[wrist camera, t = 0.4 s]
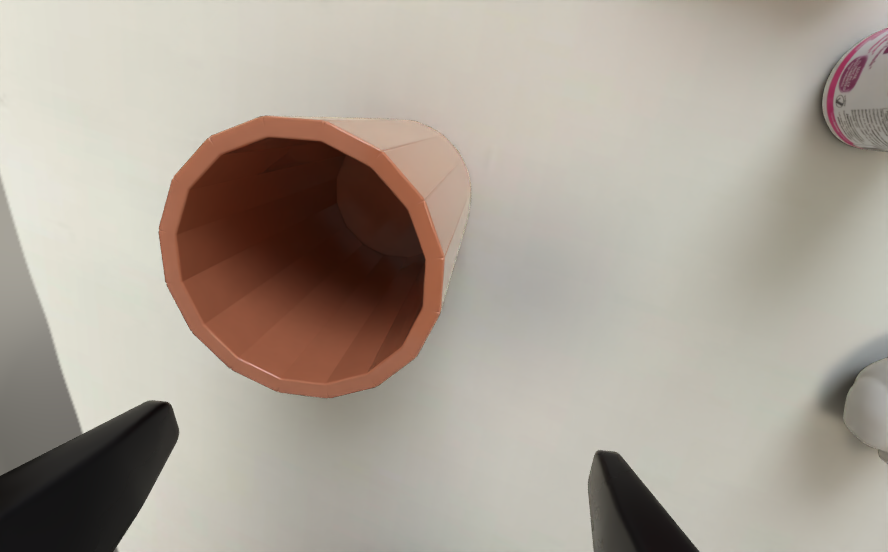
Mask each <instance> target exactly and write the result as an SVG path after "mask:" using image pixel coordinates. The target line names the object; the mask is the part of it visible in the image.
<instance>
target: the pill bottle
mask: <svg viewBox="0 0 888 552" xmlns="http://www.w3.org/2000/svg"><path fill="white" fill-rule="evenodd" d="M822 108H823V114H824V117H825V120H826V123H827V125H828V127H829V128H830V130H831V131H832V133H833V134H834V135H835V136H836V137H837V138H838V139H839V140H841V141H842V142H844V143H846V144H848V145H850V146H853V147H856V148H860V149H866V150H874V151H888V28H886V29H883V30H880V31H878V32H876V33H874V34H871V35H870V36H868V37H866V38H864V39H863V40H861V41H860V42H858V43H857V44H856V45H855V46H853V47H852V48H851V49H850V50H849V51H848V52H847V53H846V54H845V55H844V56H843V57H842V58H841V59H840V60H839V61H838V63H837V64H836V66H835V67H834V68H833V70H832V72H831V74H830V76H829V78H828V80H827V83H826V85H825V89H824V93H823V99H822Z"/></svg>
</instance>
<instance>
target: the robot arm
mask: <svg viewBox="0 0 888 552" xmlns="http://www.w3.org/2000/svg"><path fill="white" fill-rule="evenodd" d="M178 436H179V428H178V424H177V421H176V418H175V415H174V411H173V408H172V406H171V404H169V403H168V402H163V401H154V400H151V401H147V402H145V403H143V404H141V405H139V406H137V407H135V408H133V409H131V410H129V411H127V412H125V413H123V414H121V415H119V416H117V417H115V418H113V419H111V420H109V421H107V422H105V423H103V424H101V425H99V426H98V427H96V428H94V429H92V430H90V431H88V432H86V433H84V434H82V435H80V436H78V437H76V438H74V439H72V440H70V441H68V442H66V443H64V444H62V445H60V446H58V447H56V448H54V449H52V450H50V451H48V452H47V453H44V454H42V455H41V456H39V457H37V458H35V459H33V460H31V461H29V462H27V463H25V464H23V465H21V466H19V467H17V468H15V469H13V470H11V471H9V472H7V473H5V474H3V475H1V476H0V552H113V551H114V550H115V548H116V547H117V545H118V544H119V542H120V540H121V539H122V537H123V536H124V534H125V533H126V531H127V530H128V528H129V527H130V525H131V524H132V522H133V521H134V519H135V517H136V516H137V514H138V512H139V511H140V509H141V508H142V506H143V504H144V502H145V500H146V499H147V497H148V495H149V493H150V491H151V489H152V487H153V486H154V484H155V482H156V480H157V478H158V476H159V474H160V472H161V471H162V469H163V467H164V465H165V463H166V461H167V459H168V457H169V455H170V454H171V452H172V450H173V448H174V446H175V444H176V442H177V440H178ZM588 494H589V505H590V516H591V527H592V538H593V548H594V552H699V551H698V549H697V548H696V547H695V546H694V544H693V543H692V542H691V541H690V540H689V538H688V537H687V536H686V535H685V533H684V532H683V531H682V530H681V529H680V527H679V526H678V525H677V524H676V522H675V521H674V520H673V519H672V518H671V516H670V515H669V514H668V513H667V511H666V510H665V509H664V508H663V507H662V505H661V504H660V503H659V502H658V500H657V499H656V498H655V497H654V496H653V494H652V493H651V492H650V491H649V489H648V488H647V487H646V486H645V485H644V483H643V482H642V481H641V480H640V478H639V477H638V476H637V475H636V474H635V472H634V471H633V470H632V469H631V467H630V466H629V465H628V464H627V463H626V461H625V460H624V459H623V458H622V457H621V455H620V454H618V453H617V452H612V451H603V450H598V451H596V453H595V455H594V459H593V463H592V467H591V471H590V474H589V479H588Z"/></svg>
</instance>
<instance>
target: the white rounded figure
mask: <svg viewBox="0 0 888 552" xmlns="http://www.w3.org/2000/svg"><path fill="white" fill-rule="evenodd" d="M843 419H844V423H845V425H846V426H847V428H848V429H849V430H850V431H851V432H852V433H853V434H854V435H855V436H856V437H857V438H858V439H859V440H860V441H862V442H863V443H865V444H866V445H868V446H870V447H872V448H875V449H878V453H879V456H880V458H881V459H882V460H883V461H884V462H886V463H887V464H888V357H887V358H884V359H882V360H879V361H877V362H875V363H872V364H870V365H869V366H867V367H866V368H864V369H863V370H862V371H861V372H860V373H859V374H858V376H857V377H856V380H855V382H854V385H853V386H852V387H851V388H850V390H849V392H848V394H847V398H846V403H845V408H844V414H843Z"/></svg>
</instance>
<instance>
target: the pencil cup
mask: <svg viewBox="0 0 888 552" xmlns="http://www.w3.org/2000/svg"><path fill="white" fill-rule="evenodd" d="M470 203H471V183H470V178H469V174H468V170H467V168H466V165H465V163H464V161H463V159H462V157H461V155H460V153H459V152H458V151H457V149H456V148H455V147H454V145H453V144H452V143H451V142H450V141H449V140H448V139H447V138H446V137H444V136H443V135H442V134H441V133H439V132H438V131H436V130H434V129H433V128H431V127H429V126H427V125H424V124H422V123H419V122H417V121H412V120H398V119H380V118H341V117H302V116H260V117H257V118H255V119H252V120H250V121H247V122H245V123H242V124H239V125H237V126H234V127H232V128H229V129H227V130H224V131H222V132H219V133H216V134H214V135H211V136H210V138H207V139H206V141H205V142H204V143H203V144H202V145H201V146H200V147H199V148H198V150H197V151H196V152H195V153H194V154H193V155H192V156H191V158H190V159H189V160H188V161H187V162H186V163H185V164H184V165H183V167H182V168H181V169H180V170H179V171H178V172H177V173H176V175H175V176H174V178H173V179H172V181H171V185H170V189H169V192H168V196H167V200H166V203H165V207H164V211H163V214H162V218H161V222H160V225H159V238H160V246H161V253H162V260H163V267H164V275H165V282H166V283H167V287H168V289H169V291H170V293H171V294H172V296H173V298H174V300H175V302H176V304H177V306H178V308H179V310H180V311H181V313H182V315H183V317H184V319H185V321H186V323H187V325H188V327H189V328H190V330H191V331H193V332H192V333H193V334H194V335H195V336H196V337H197V338H198V339H199V340H200V341H201V342H202V343H204V344H205V345H206V346H207V347H208V348H209V349H210V350H211V351H212V352H213V353H214V354H215V355H216V356H217V357H218V358H219V359H220V360H221V361H222V362H223V363H224V364H225V365H227V366H228V367H229V368H231V369H232V370H233V371H235V372H237V373H239V374H241V375H243V376H245V377H247V378H249V379H251V380H254V381H256V382H258V383H260V384H262V385H264V386H266V387H268V388H270V389H272V390H274V391H277V392H278V391H279V392H280V393H287V394H295V395H303V396H311V397H319V398H333V397H337V396H342V395H346V394H350V393H354V392H358V391H362V390H366V389H371V388H375V387H376V386H379V385H380V384H381V383H383V382H384V381H385V380H387V379H388V378H390V377H391V376H392V375H394V374H395V373H396V372H398V371H399V370H400V369H402V368H403V367H404V366H406V365H407V364H408V363H410V362H411V361H412V360H414V359H415V357H417V356H418V354H419V352H420V350H421V348H422V347H423V345H424V343H425V341H426V339H427V337H428V336H429V334H430V332H431V330H432V328H433V326H434V325H435V323H436V321H437V319H438V317H439V315H440V313H441V309H442V306H443V303H444V299H445V296H446V292H447V289H448V286H449V282H450V279H451V275H452V272H453V269H454V265H455V262H456V258H457V255H458V252H459V248H460V245H461V241H462V238H463V235H464V231H465V228H466V224H467V221H468V217H469V210H470Z"/></svg>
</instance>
